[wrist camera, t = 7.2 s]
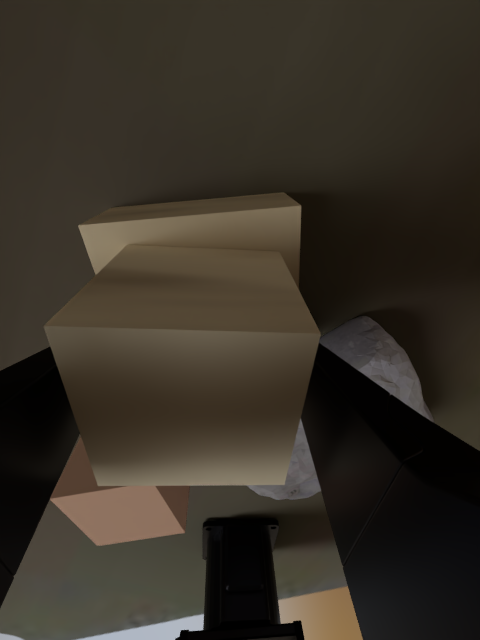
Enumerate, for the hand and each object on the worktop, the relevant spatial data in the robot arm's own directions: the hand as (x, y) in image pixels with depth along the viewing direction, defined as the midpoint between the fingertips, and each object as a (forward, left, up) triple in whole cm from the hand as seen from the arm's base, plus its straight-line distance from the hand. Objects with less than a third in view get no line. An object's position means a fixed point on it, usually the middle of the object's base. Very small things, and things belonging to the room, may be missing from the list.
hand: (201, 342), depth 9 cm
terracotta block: (-11, +4, -5) cm, 13 cm away
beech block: (0, 0, -2) cm, 2 cm away
